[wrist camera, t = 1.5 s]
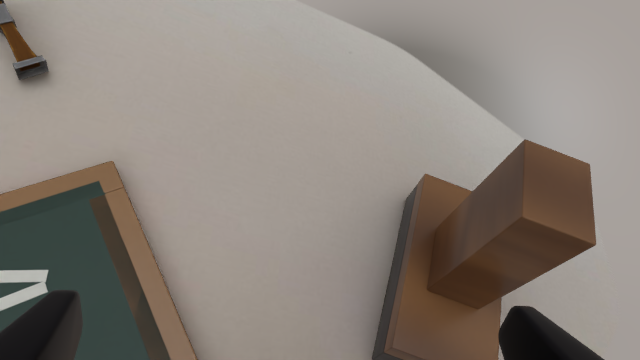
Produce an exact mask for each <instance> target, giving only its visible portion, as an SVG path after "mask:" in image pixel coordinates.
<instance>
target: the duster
mask: <svg viewBox="0 0 640 360" xmlns="http://www.w3.org/2000/svg"><path fill="white" fill-rule="evenodd" d="M595 245H596V235H595V222H594V210H593V197H592V185H591V172H590V164H588V163H585V162H583V161H580V160H578V159H575V158H573V157H570V156H567V155H565V154H562V153H560V152H557V151H554V150H552V149H549V148H547V147H544V146H541V145H539V144H536V143H533V142H531V141H528V140H524V141H523V142H522V143H521V144H520V145H519V146H518V147H517V148H516V149H515V150H514V151H513V152H512V153H511V154H510V155H509V156H508V157H507V158H506V159H505V160H504V161H503V162H502V163H501V164H500V165H499V166H498V167H497V168H496V169H495V170H494V171H493V172H492V173H491V174H490V175H489V176H488V177H487V178H486V179H485V180H484V181H483V182H482V183H481V184H480V185H479V186H478V187H477V188H476V189H475V190H474V191H473V192H472V191H470V190H467V189H465V188H462V187H459V186H457V185H454V184H451V183H449V182H446V181H444V180H441V179H438V178H436V177H433V176H430V175H428V174H425V175H424V176H423V177H422V179H421V180H420V181H419V183H418V184H417V185H416V187H415V188H414V189H413V191H412V192H411V193H410V195H409V196H408V197H407V198H406V203H405V207H404V212H403V217H402V221H401V226H400V230H399V235H398V240H397V244H396V249H395V254H394V258H393V263H392V268H391V272H390V277H389V282H388V286H387V291H386V296H385V300H384V305H383V310H382V314H381V319H380V324H379V328H378V333H377V338H376V342H375V347H374V352H373V356H372V360H498V351H499V339H498V333H499V329H500V315H501V297H502V296H504V295H506V294H508V293H510V292H511V291H513V290H515V289H517V288H519V287H521V286H522V285H524V284H526V283H528V282H530V281H531V280H533V279H535V278H537V277H539V276H540V275H542V274H544V273H546V272H548V271H550V270H551V269H553V268H555V267H557V266H559V265H560V264H562V263H564V262H566V261H568V260H570V259H571V258H573V257H575V256H577V255H579V254H580V253H582V252H584V251H586V250H588V249H589V248H591V247H593V246H595Z"/></svg>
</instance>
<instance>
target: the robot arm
mask: <svg viewBox="0 0 640 360" xmlns="http://www.w3.org/2000/svg"><path fill="white" fill-rule="evenodd" d="M82 327H83V318H82V310H81V302H80V295H79V293H78V292H77V291H75V290H54V291H52V292H50V293H49V294H47V295H46V296H45V297H44V298H42V299H41V300H40V301H39V302H37V303H36V304H35V305H34V306H32V307H31V308H30V309H29V310H27V311H26V312H25V313H24V314H22V315H21V316H20V317H19V318H17V319H16V320H15V321H14V322H12V323H11V324H10V325H8V326H7V327H6V328H5V329H3V330H2V331H1V332H0V360H74V358H75V355H76V351H77V348H78V344H79V341H80V337H81V333H82ZM498 339H499V344H500V347H501V350H502V353H503V357H504V360H604V359H603V358H601V357H600V356H599V355H597V354H596V353H594V352H593V351H592V350H590V349H589V348H588V347H586V346H585V345H584V344H582V343H581V342H579V341H578V340H577V339H575V338H574V337H573V336H571V335H570V334H569V333H567V332H566V331H564V330H563V329H562V328H560V327H559V326H558V325H556V324H555V323H554V322H552V321H551V320H549V319H548V318H547V317H545V316H544V315H543V314H541V313H540V312H539V311H537V310H536V309H534V308H532V307H529V306H514V307H513V308H511V309H510V311H509V313H508V315H507V316H506V318H505V320H504V322H503V324H502V326H501V327H500V329H499V333H498Z"/></svg>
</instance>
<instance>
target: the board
mask: <svg viewBox="0 0 640 360" xmlns="http://www.w3.org/2000/svg"><path fill="white" fill-rule="evenodd" d="M54 290H75V291H77V292H78V293H79V295H80V302H81V310H82V318H83V327H82V333H81V337H80V341H79V344H78V348H77V351H76V355H75V358H74V360H198V359H197V357H196V355H195V352H194V350H193V348H192V345H191V343H190V340H189V338H188V336H187V333H186V331H185V329H184V326H183V324H182V322H181V319H180V317H179V315H178V312H177V310H176V308H175V305H174V303H173V301H172V298H171V296H170V293H169V291H168V289H167V286H166V284H165V282H164V279H163V277H162V275H161V272H160V270H159V268H158V265H157V263H156V261H155V258H154V256H153V254H152V251H151V249H150V246H149V244H148V242H147V239H146V237H145V235H144V232H143V230H142V228H141V225H140V223H139V221H138V218H137V216H136V214H135V211H134V209H133V206H132V204H131V202H130V199H129V197H128V195H127V192H126V190H125V188H124V185H123V183H122V181H121V178H120V176H119V174H118V171H117V169H116V167H115V164H114V162H113V161H109V162H106V163H103V164H99V165H96V166H93V167H90V168H86V169H83V170H80V171H76V172H73V173H70V174H66V175H63V176H60V177H56V178H53V179H50V180H46V181H43V182H40V183H36V184H33V185H30V186H26V187H23V188H20V189H17V190H13V191H10V192H7V193H3V194H0V332H1V331H2V330H3V329H5V328H6V327H7V326H8V325H10V324H11V323H12V322H14V321H15V320H16V319H17V318H19V317H20V316H21V315H22V314H24V313H25V312H26V311H27V310H29V309H30V308H31V307H32V306H34V305H35V304H36V303H37V302H39V301H40V300H41V299H42V298H44V297H45V296H46V295H47V294H49V293H50V292H52V291H54Z"/></svg>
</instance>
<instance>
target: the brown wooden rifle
mask: <svg viewBox="0 0 640 360" xmlns="http://www.w3.org/2000/svg"><path fill="white" fill-rule="evenodd" d="M0 32H2V33H3V34H4V35H5V37H6V39H7V40H8V43H9V45H10V47H11V49H12V51H13V54H14V56H15V58H16V60H17V63H13V66H14V68H15V71H16V74H17V76H18V78H19V80H21V79H25V78H28V77H31V76H34V75H38V74H41V73H44V72H48V66H47V62H46V60H45V59H44V58H43V56H42V55H41V56H38V57H37V56H36V55H35V54H34V53H33V52H32V50H31V49H30V48H29V46H28V45H27V43H26V42H25V41H24V39H23V38H22V36H21V35H20V34H19V32H18V31H17V29H16V25H15V22H14V19H13V18H12V17H11V15H10V13H9V12H8V10H7V7H6V5H5V3H4V1H3V0H0Z"/></svg>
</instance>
